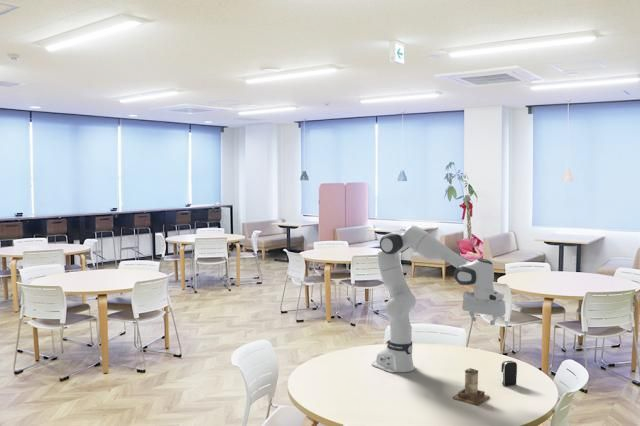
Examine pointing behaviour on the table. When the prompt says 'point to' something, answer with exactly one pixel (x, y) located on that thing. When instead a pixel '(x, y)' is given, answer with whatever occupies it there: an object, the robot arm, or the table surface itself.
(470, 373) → the tall wooden pillar
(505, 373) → the battery charger
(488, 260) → the robot arm
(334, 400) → the table surface
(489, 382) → the table surface
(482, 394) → the dock
